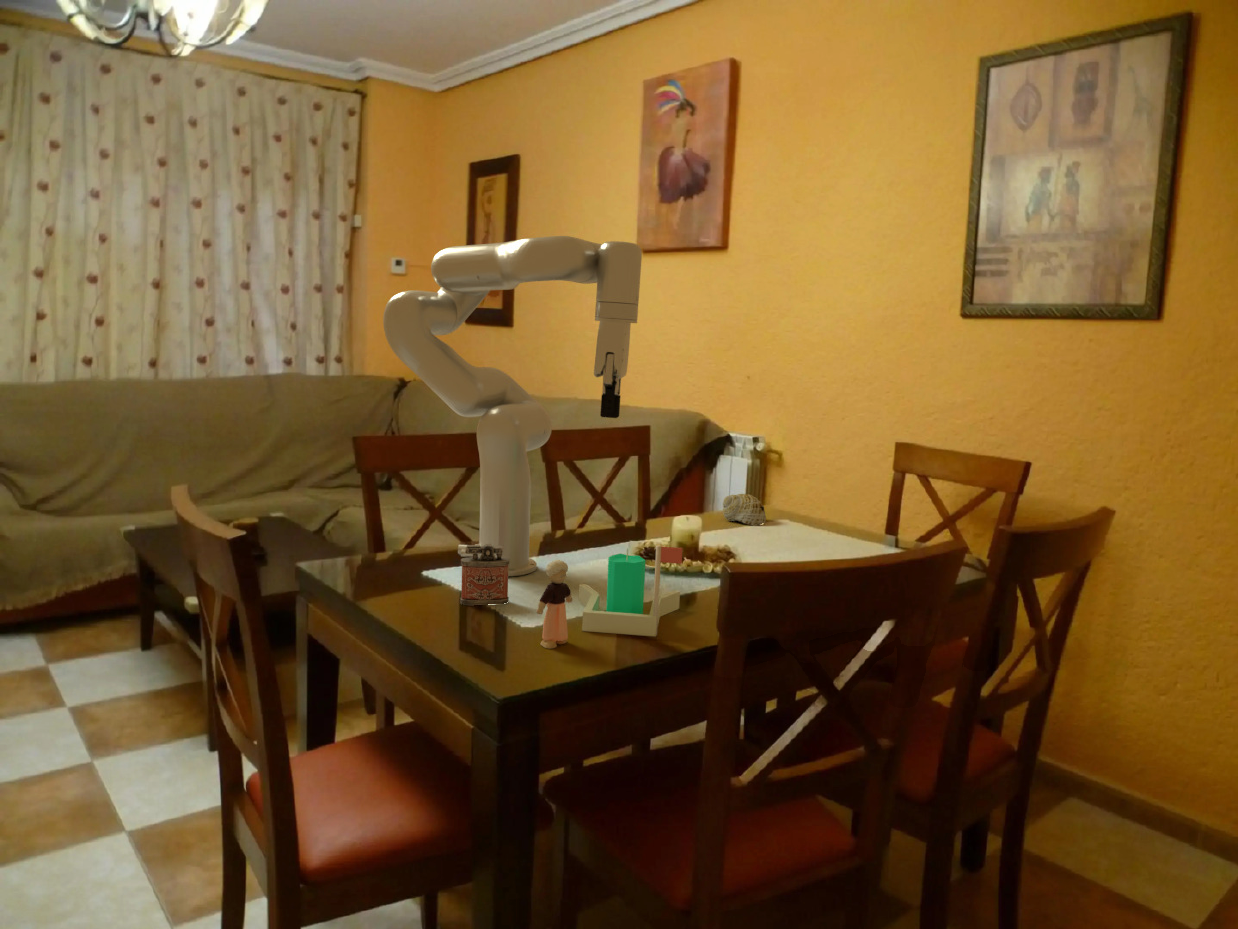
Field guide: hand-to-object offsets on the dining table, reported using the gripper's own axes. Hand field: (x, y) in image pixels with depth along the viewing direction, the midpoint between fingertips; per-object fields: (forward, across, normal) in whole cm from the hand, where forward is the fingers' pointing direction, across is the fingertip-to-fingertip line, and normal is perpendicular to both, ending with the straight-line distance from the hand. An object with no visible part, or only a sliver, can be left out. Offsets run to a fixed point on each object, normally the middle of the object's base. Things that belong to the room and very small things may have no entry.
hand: (609, 416), depth 163 cm
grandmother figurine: (+31, +34, -2) cm, 46 cm away
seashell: (+31, -66, +27) cm, 77 cm away
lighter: (+32, +17, -17) cm, 40 cm away
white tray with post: (+31, +20, +7) cm, 37 cm away
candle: (+31, +21, +7) cm, 38 cm away
